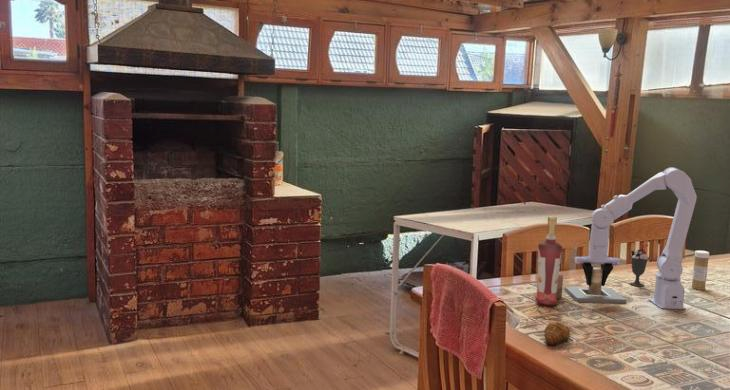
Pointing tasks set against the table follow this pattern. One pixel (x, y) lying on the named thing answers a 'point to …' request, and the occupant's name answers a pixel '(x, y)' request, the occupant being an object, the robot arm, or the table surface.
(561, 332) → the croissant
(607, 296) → the socket board
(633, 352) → the table surface
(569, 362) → the table surface
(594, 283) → the slim peg
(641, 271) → the sundae
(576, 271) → the table surface
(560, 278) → the fat peg
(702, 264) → the sprinkles bottle
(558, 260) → the liquor
